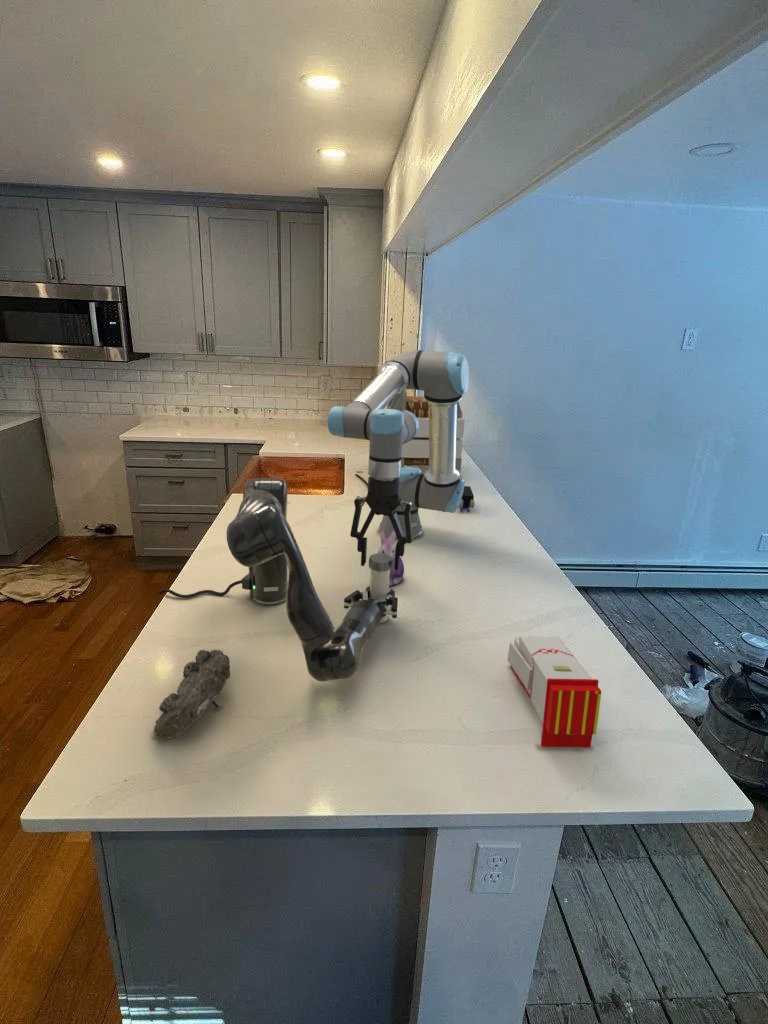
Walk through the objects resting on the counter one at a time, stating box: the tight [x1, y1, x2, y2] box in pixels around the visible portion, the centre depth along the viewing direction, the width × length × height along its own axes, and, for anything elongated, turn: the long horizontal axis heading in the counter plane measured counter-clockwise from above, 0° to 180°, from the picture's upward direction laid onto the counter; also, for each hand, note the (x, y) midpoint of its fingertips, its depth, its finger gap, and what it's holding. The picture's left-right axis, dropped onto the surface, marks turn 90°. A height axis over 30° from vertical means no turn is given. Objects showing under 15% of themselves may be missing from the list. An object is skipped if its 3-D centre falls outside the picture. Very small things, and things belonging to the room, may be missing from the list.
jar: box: [369, 569, 390, 624], centre depth 142 cm, size 5×5×16 cm
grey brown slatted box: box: [386, 389, 465, 475], centre depth 268 cm, size 34×33×41 cm
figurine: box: [377, 531, 405, 587], centre depth 163 cm, size 9×10×15 cm
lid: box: [368, 552, 392, 572], centre depth 140 cm, size 6×6×2 cm
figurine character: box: [458, 485, 475, 513], centre depth 228 cm, size 7×8×15 cm
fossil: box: [153, 649, 231, 740], centre depth 109 cm, size 22×10×15 cm
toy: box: [507, 635, 602, 748], centre depth 115 cm, size 12×13×30 cm
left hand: (382, 590), depth 145 cm, fingers closed on jar, 4 cm apart
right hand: (380, 565), depth 140 cm, fingers open, 8 cm apart
